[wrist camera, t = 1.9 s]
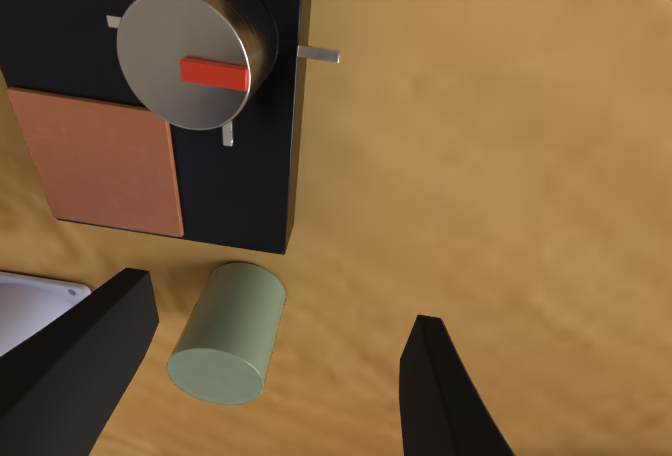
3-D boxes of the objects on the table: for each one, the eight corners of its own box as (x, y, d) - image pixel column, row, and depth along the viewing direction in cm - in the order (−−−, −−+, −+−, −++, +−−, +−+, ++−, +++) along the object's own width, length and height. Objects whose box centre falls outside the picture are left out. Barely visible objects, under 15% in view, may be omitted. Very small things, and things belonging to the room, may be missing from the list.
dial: (176, 84, 14) (123, 125, 11) (163, -34, 12) (93, -22, 9) (275, 99, 14) (248, 144, 11) (279, -15, 12) (246, 3, 9)
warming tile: (57, 214, 19) (53, 218, 18) (10, 86, 15) (5, 88, 15) (184, 233, 19) (181, 237, 19) (167, 110, 15) (164, 113, 15)
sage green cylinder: (211, 310, 26) (172, 397, 21) (205, 254, 23) (159, 341, 18) (284, 321, 26) (262, 411, 21) (288, 267, 23) (264, 357, 18)
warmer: (86, 192, 21) (53, 222, 19) (-16, -148, 13) (-92, -163, 11) (319, 228, 21) (313, 262, 19) (361, -88, 13) (357, -91, 11)
